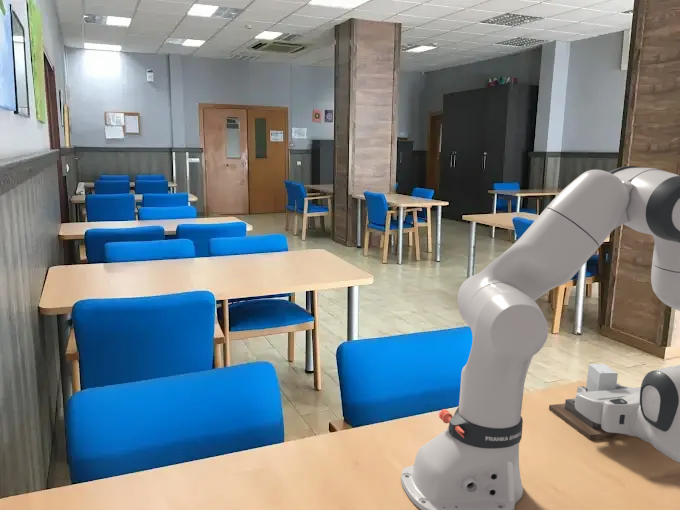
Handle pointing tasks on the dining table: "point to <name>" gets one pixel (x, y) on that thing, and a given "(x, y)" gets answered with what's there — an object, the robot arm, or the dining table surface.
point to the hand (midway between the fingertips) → (597, 387)
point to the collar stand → (581, 421)
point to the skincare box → (601, 378)
